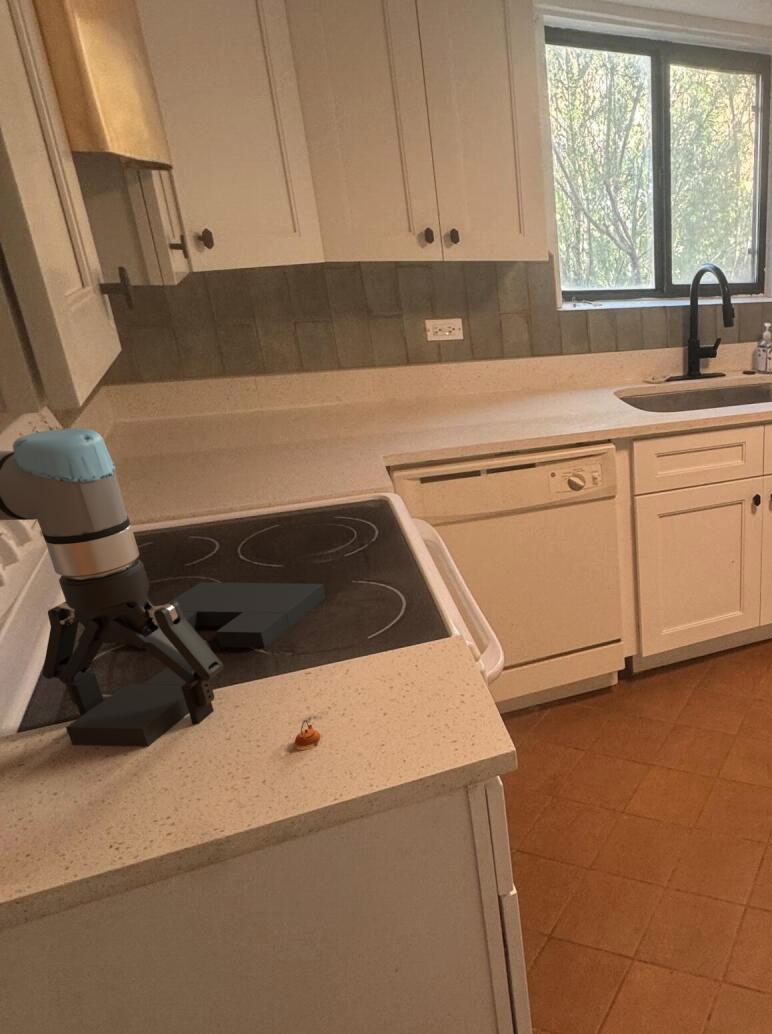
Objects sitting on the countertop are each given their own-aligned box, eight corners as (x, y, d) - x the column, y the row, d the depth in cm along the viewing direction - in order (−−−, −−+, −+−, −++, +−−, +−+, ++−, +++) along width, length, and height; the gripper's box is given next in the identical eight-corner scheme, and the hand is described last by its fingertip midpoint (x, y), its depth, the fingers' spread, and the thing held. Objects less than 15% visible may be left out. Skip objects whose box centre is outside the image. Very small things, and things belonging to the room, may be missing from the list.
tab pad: (76, 756, 90) (65, 727, 89) (159, 693, 103) (151, 667, 101) (151, 757, 90) (142, 728, 89) (226, 694, 102) (219, 668, 101)
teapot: (289, 746, 92) (284, 727, 91) (311, 732, 95) (307, 713, 94) (306, 752, 91) (301, 733, 90) (328, 737, 94) (324, 719, 93)
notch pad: (130, 655, 112) (122, 630, 110) (206, 604, 127) (200, 582, 125) (267, 657, 111) (260, 632, 110) (327, 606, 126) (322, 583, 125)
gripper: (229, 554, 91) (270, 709, 99) (23, 553, 92) (79, 706, 99) (184, 581, 84) (231, 746, 92) (-39, 579, 85) (26, 742, 92)
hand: (152, 725), depth 96 cm, fingers open, 13 cm apart
